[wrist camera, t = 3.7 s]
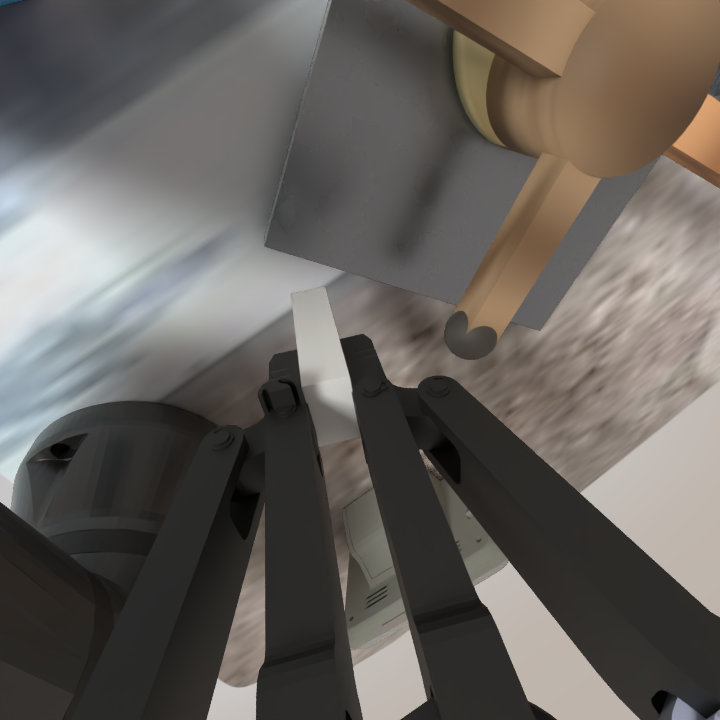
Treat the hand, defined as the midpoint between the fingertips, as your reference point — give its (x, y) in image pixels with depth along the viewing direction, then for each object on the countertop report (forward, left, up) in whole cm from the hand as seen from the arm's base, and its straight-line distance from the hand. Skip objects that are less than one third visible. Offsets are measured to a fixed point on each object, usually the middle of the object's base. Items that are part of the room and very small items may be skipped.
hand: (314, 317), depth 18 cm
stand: (+12, -8, -8) cm, 17 cm away
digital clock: (-21, -17, -8) cm, 28 cm away
